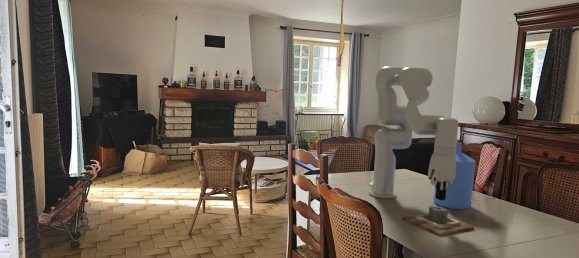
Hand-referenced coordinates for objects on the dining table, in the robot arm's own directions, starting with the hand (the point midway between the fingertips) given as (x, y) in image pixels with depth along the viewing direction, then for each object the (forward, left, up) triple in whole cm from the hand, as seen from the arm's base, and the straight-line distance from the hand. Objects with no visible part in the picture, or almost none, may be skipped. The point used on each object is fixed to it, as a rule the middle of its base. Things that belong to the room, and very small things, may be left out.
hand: (440, 199), depth 144 cm
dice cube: (0, 0, -9) cm, 9 cm away
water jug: (-16, +27, -10) cm, 33 cm away
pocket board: (0, 0, -10) cm, 10 cm away
